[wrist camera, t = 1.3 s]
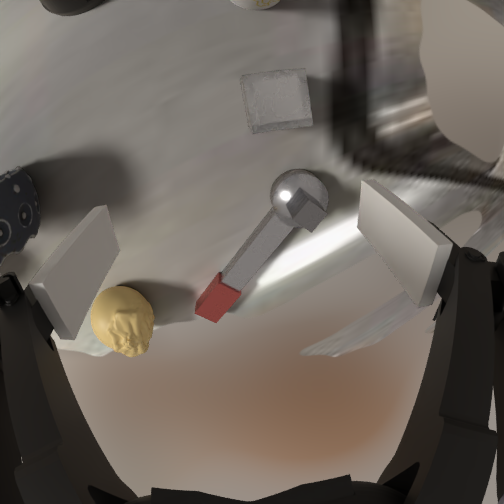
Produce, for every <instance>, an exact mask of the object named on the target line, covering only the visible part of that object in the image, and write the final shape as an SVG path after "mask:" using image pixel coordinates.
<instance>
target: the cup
mask: <svg viewBox="0 0 504 504" xmlns="http://www.w3.org/2000/svg"><path fill="white" fill-rule="evenodd" d="M230 1H231V2H232V3H234V4H235V5H237V6H239V7H241V8H244V9H249V10H263V9H267V8H270V7H272V6H274V5H276V4H277V3H278V2H279V1H280V0H230Z"/></svg>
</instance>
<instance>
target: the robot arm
mask: <svg viewBox="0 0 504 504" xmlns="http://www.w3.org/2000/svg"><path fill="white" fill-rule="evenodd" d="M39 1H40V2H41V3H42V5H43V7H44V8H45V9H46V10H48V11H49V12H51V13H54V14H57V15H61V16H73V15H77V14H81V13H83V12H86V11H88V10H90V9H92V8H94V7H95V6H97V5H99V4H100V3H102V2H103V1H104V0H39ZM357 228H358V229H359V230H360V232H361V233H362V234H363V235H364V237H365V238H366V239H367V240H368V242H369V243H370V244H371V245H372V247H373V248H374V249H375V250H376V252H377V253H378V254H379V256H380V257H381V258H382V259H383V261H384V262H385V263H386V265H387V266H388V267H389V269H390V270H391V272H392V273H393V274H394V276H395V277H396V278H397V280H398V281H399V283H400V284H401V285H402V287H403V288H404V290H405V291H406V292H407V294H408V295H409V297H410V298H411V300H412V301H413V302H414V304H415V305H416V307H417V308H420V307H425V306H429V305H432V304H433V301H434V299H435V296H436V294H437V293H438V294H439V295H440V296H441V298H442V299H441V302H440V304H439V307H438V309H437V312H436V314H435V316H434V318H433V320H434V321H435V320H436V325H435V330H434V335H433V340H432V344H431V348H430V353H429V357H428V361H427V365H426V368H425V372H424V376H423V380H422V383H421V386H420V389H419V393H418V396H417V399H416V402H415V405H414V408H413V410H412V414H411V416H410V419H409V421H408V424H407V427H406V430H405V432H404V434H403V437H402V439H401V442H400V444H399V446H398V449H397V451H396V453H395V455H394V457H393V458H392V460H391V461H390V463H389V464H388V465H387V467H386V468H385V470H384V471H383V473H382V475H381V476H380V478H379V480H378V481H377V483H371V482H363V481H351V477H350V474H349V475H345V476H341V477H337V478H333V479H328V480H323V481H319V482H314V483H308V484H302V485H299V486H297V487H294V488H292V489H289V490H287V491H283V492H281V493H278V494H275V495H272V496H269V497H266V498H262V499H259V500H256V501H251V502H250V501H248V502H247V501H240V500H235V499H230V498H225V497H220V496H215V495H211V494H207V493H203V492H199V491H183V490H171V489H160V488H152V489H151V495H148V496H144V497H139V498H138V497H137V496H136V494H135V493H134V492H133V491H132V490H131V489H130V488H129V487H128V486H127V485H126V484H124V482H122V481H121V479H120V478H119V477H118V476H117V474H116V473H115V471H114V470H113V468H112V466H111V465H110V463H109V462H108V460H107V458H106V457H105V455H104V453H103V451H102V450H101V448H100V446H99V445H98V443H97V441H96V439H95V437H94V435H93V433H92V431H91V430H90V427H89V425H88V424H87V421H86V419H85V418H84V415H83V413H82V411H81V409H80V407H79V405H78V403H77V400H76V398H75V395H74V393H73V391H72V388H71V386H70V383H69V381H68V379H67V376H66V373H65V371H64V368H63V365H62V362H61V359H60V357H59V354H58V351H57V348H56V344H55V342H54V340H53V339H52V337H51V336H50V335H51V333H52V331H53V329H54V330H55V331H56V333H57V334H58V336H59V337H60V339H65V340H75V338H76V336H77V334H78V331H79V329H80V327H81V325H82V323H83V321H84V318H85V316H86V314H87V312H88V310H89V308H90V306H91V304H92V302H93V300H94V298H95V296H96V294H97V292H98V290H99V288H100V286H101V284H102V282H103V281H104V279H105V277H106V275H107V273H108V271H109V269H110V268H111V266H112V264H113V262H114V260H115V259H116V257H117V255H118V253H119V252H120V248H119V245H118V242H117V239H116V235H115V232H114V229H113V226H112V222H111V219H110V215H109V212H108V208H107V205H103V206H97V207H94V208H93V209H92V210H91V211H90V212H89V213H88V214H87V215H86V216H85V217H84V218H83V220H82V221H81V222H80V223H79V224H78V225H77V226H76V227H75V228H74V229H73V230H72V231H71V233H70V234H69V235H68V236H67V237H66V238H65V239H64V241H63V242H62V243H61V244H60V245H59V246H58V248H57V249H56V250H55V251H54V252H53V253H52V255H51V256H50V257H49V258H48V260H47V261H46V262H45V263H44V265H43V266H42V267H41V268H40V270H39V271H38V272H37V273H36V275H35V276H34V277H33V279H32V280H31V281H30V283H29V284H28V286H27V287H26V288H25V290H23V288H22V286H21V285H20V283H19V281H18V279H17V277H16V275H15V273H14V272H9V273H6V274H4V275H2V276H1V277H0V504H482V501H483V498H484V495H485V492H486V488H487V485H488V482H489V478H490V475H491V471H492V467H493V463H494V459H495V454H496V449H497V475H496V481H497V497H498V504H504V252H500V253H499V256H498V259H497V262H488V261H487V258H486V257H485V256H484V255H483V254H482V253H481V252H479V251H478V250H476V249H473V248H469V247H462V248H460V247H459V246H458V245H457V244H456V243H454V242H453V241H452V240H451V239H450V238H449V237H448V236H447V235H445V233H443V232H442V231H441V230H439V228H438V227H437V226H435V225H434V224H433V223H431V222H429V221H428V220H426V219H425V218H423V217H422V216H421V215H420V214H419V213H417V212H416V211H415V210H414V209H412V208H411V207H410V206H409V205H407V204H406V203H405V202H404V201H402V200H401V199H400V198H398V197H397V196H396V195H395V194H393V193H392V192H391V191H389V190H388V189H387V188H385V187H384V186H383V185H381V184H380V183H378V182H377V181H376V180H362V182H361V195H360V206H359V216H358V225H357ZM436 318H437V319H436ZM493 388H494V397H495V408H496V423H497V433H496V431H494V430H490V429H489V427H488V421H489V415H490V408H491V400H492V390H493ZM21 457H22V459H21ZM22 461H23V463H22Z"/></svg>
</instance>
